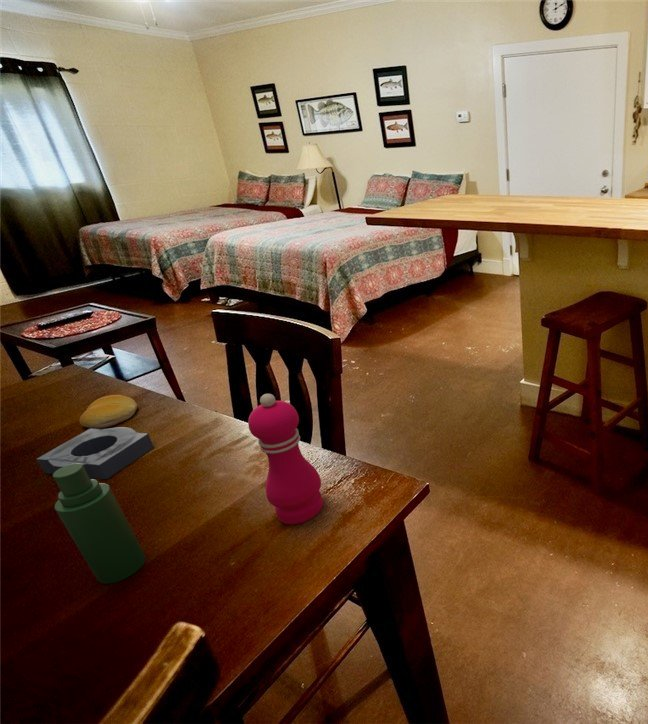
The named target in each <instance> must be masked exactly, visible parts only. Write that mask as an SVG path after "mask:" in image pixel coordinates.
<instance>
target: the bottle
mask: <svg viewBox="0 0 648 724" xmlns="http://www.w3.org/2000/svg"><path fill="white" fill-rule="evenodd" d="M52 478H53V480H54V481H55V483H56V484H57V486H58V488H59V490H60V491H59V492H58V495H57V498H58V500H57V501H56V502H55V504H54V507H53V508H54V510H55V512H56V514H57V515H58V517H59V519H60V521H61V523H62V524H63V525H64V527H65V529H66V530H67V532H68V534H69V536H70V537H71V538H72V540H73V542H74V544H75V546H76V547H77V548H78V549H77V550H78V551H79V552H80V553H81V555H82V557H83V558H84V560H85V562H86V564H87V566H88V567H89V568H90V570H91V572H92V573H93V575H94V577H95V579H96V581H98V583H100V584H106V585H108V584H115V583H119V582H121V581H123V580H125V579H127V578H129V577H131V576H132V575H134V574H135V573H137V572H138V571H139V570H140V569H141V568H142V567H143V566H144V564H145V563H146V559H147V557H146V554H145V552H144V549H143V548H142V547H141V545H140V543H139V541H138V539H137V537H136V535H135V533H134V531H133V529H132V527H131V525H130V523H129V522H128V519H127V517H126V515H125V514H124V512H123V510H122V508H121V506H120V504H119V503H118V501H117V498H116V496H115V495H114V493H113V490H112V488H111V486H110V485H109V484H107V483H104V482H99V481H98V479H95V478H93V479H90V478H89V476H88V474H87V472H86V471H85V469H84V467H83V465H82V464H79V463H76V464H70V465H67V466H64V467H62V468H60V469H58V470H57V471H55V472H54V473H53V474H52Z"/></svg>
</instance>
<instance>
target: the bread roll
mask: <svg viewBox="0 0 648 724" xmlns="http://www.w3.org/2000/svg"><path fill="white" fill-rule="evenodd" d="M137 409H138V403H137V402H136V401H135V400H134V399H133V398H131V397H129V396H127V395H123V394H111V395H106V396H102V397H99V398H98V399H95V400H94V401H93V402H92V403H90V404H89V405H88V407H87V408H86V410H85V411H84V412H83V413H82V414H81V415H80V417H79V424H80V425H81V427H83V428H88V429H107V428H111V427H113V426H116V425H118V424H121V423H122V422H126V421H127V420H129V419H130V418H132V416H134V414H135V413H136V411H137Z"/></svg>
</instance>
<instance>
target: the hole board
mask: <svg viewBox="0 0 648 724" xmlns="http://www.w3.org/2000/svg"><path fill="white" fill-rule="evenodd" d="M154 448H155V445H154V444H153V441H152V439H151V437H150V435H149V433H145V432H137V430H135V429H133V428H132V427H125V426H118V427H117V426H116V427H107V428H102V429H101V428H99V429H95V428H88V429H87V430H85V431H84V432H82V433H80V434H78V435H76V436H74V437H73V438H71V439H69V440H67V441H66V442H63V443H62V444H60V445H59V446H57V447H55V448H53V449H52V450H49V451H48V452H46V453H44V454H42V455H41V456H39V457H37V458H36V461H37V463H38V464H39V466H40V468H41V470H42V472H43V473H44V474H48V475H53V473H54V472H55V471H57V470H58V469H60V468H62V467H64V466H67V465H70V464H76V463H79V464H82V465H83V467H84V469H85V471H86V472H87V474H88V476H89V478H90V479H96V480H108V479H110V478H111V477H112V476H114V475H116V474H117V473H118V472H120V471H122V470H123V469H125V468H126V467H128V466H129V465H131V464H132V463H134V462H135V461H136V460H138V459H139V458H141V457H142V456H143V455H145V454H146V453H148V452H149V451H151V450H152V449H154Z"/></svg>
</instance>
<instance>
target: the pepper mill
mask: <svg viewBox="0 0 648 724" xmlns="http://www.w3.org/2000/svg"><path fill="white" fill-rule="evenodd" d="M259 403H260V404H259V405H258V406H256V407H255V408H254V409H253V410H252V411H251V412H250V414H249V417H248V421H247V424H248V425H247V426H248V430H249V432H250V434H251V435H252V436H253V437H254V438H256V439H258V440H257V444H258V445H259V449H260V451H261V452H263V453H265V454H266V456H267V461H268V471H267V474H266V480H265V495H266V499H267V501H268V503H269V504H270V505H272V506H273V507H274V510H275V514H276V516H277V519H278V520H279V521H280V522H281V524H285V525H298V524H302V523H305V522H307V521H309V520H311V519H312V518H314V517H315V516H317V515H318V514H319V513H320V511H321V510H322V509H323V506H324V500H323V497H322V493H321V491H320V490H321V487H322V478H321V476H320V474H319V472H318V470H317V469H316V467H315V466H313V465H312V464H311V463H310V462H309V461H308V460H307V459H306V458H305V457H304V456H303V454H302V451H301V449H300V445H299V442H300V441H301V436H300V434H299V433H300V432H299V429H298V426H299V424H300V423H299V422H300V418H299V417H300V416H299V413H298V411H297V410H296V408H295V406H293V405H292V404H291V403H289V402H287V401H284V400H276V397H275V396H274V394H272V393H264V394H263V395H262V396H260V399H259Z"/></svg>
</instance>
